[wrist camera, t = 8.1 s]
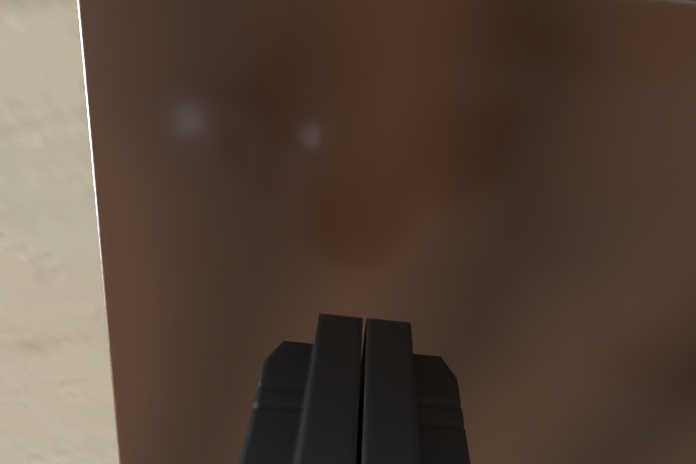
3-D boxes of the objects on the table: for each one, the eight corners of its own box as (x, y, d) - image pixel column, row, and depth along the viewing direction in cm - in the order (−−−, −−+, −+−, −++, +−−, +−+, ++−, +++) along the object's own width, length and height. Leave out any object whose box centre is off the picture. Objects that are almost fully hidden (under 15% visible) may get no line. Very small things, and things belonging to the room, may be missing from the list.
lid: (128, 457, 16) (119, 479, 15) (86, -59, 11) (70, -56, 10) (704, 500, 16) (718, 524, 16) (926, 22, 11) (959, 29, 11)
